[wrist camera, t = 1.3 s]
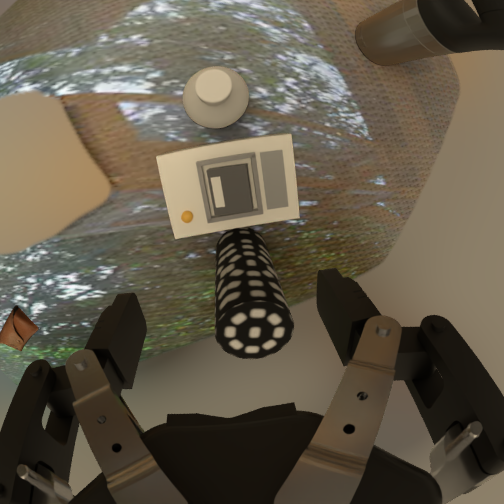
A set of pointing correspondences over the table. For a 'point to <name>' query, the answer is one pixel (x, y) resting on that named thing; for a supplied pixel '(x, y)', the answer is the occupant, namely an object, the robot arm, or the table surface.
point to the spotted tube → (249, 297)
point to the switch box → (224, 154)
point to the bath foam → (215, 97)
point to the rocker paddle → (230, 189)
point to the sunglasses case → (17, 329)
